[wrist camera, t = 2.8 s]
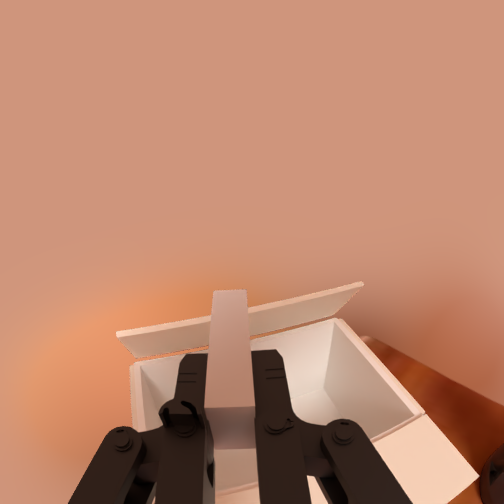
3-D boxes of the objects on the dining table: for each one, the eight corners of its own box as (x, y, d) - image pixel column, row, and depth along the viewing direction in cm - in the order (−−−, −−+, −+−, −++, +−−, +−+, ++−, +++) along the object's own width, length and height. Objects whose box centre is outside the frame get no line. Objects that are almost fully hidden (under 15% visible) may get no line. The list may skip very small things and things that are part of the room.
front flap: (333, 315, 44) (331, 311, 44) (364, 285, 35) (362, 280, 35) (136, 358, 36) (135, 353, 37) (116, 337, 28) (115, 331, 28)
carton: (328, 384, 50) (340, 313, 43) (423, 520, 24) (483, 472, 17) (157, 427, 42) (128, 359, 36) (201, 604, 17) (165, 607, 10)
